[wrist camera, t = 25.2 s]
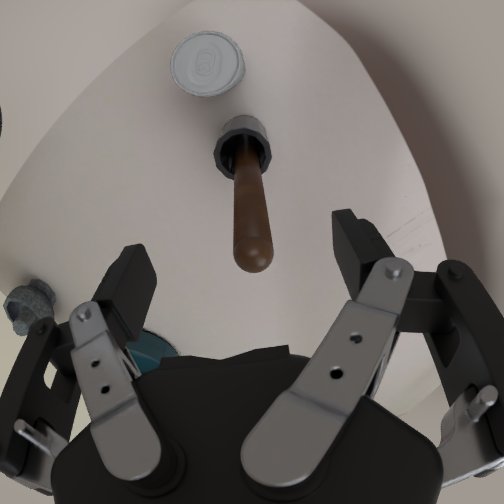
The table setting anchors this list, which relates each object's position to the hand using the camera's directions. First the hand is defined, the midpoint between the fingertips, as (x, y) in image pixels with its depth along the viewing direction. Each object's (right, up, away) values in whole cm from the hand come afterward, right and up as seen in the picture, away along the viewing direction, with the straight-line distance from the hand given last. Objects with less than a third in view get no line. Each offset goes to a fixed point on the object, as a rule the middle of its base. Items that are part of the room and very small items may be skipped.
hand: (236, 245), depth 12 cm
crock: (0, +12, +18) cm, 22 cm away
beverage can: (-2, +18, +14) cm, 23 cm away
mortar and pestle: (-36, -7, +30) cm, 47 cm away
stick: (0, +12, +17) cm, 21 cm away
